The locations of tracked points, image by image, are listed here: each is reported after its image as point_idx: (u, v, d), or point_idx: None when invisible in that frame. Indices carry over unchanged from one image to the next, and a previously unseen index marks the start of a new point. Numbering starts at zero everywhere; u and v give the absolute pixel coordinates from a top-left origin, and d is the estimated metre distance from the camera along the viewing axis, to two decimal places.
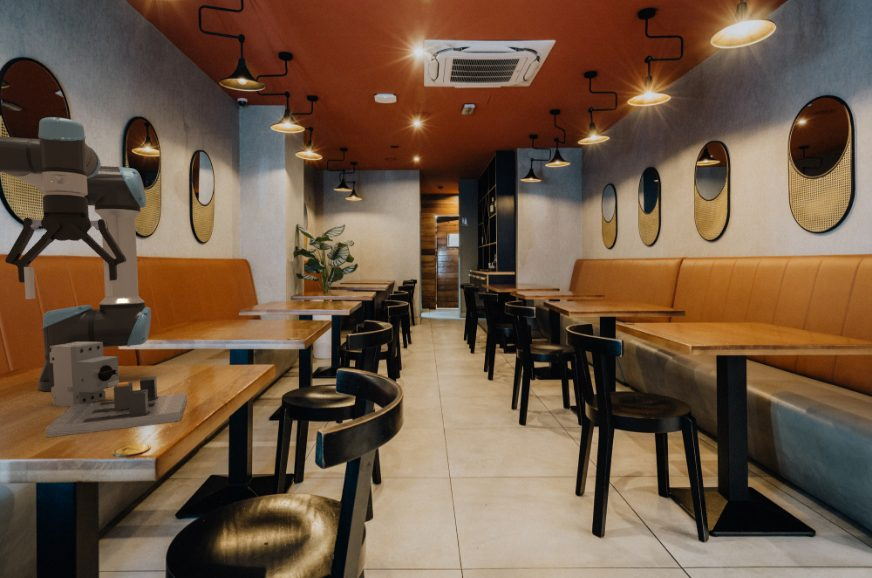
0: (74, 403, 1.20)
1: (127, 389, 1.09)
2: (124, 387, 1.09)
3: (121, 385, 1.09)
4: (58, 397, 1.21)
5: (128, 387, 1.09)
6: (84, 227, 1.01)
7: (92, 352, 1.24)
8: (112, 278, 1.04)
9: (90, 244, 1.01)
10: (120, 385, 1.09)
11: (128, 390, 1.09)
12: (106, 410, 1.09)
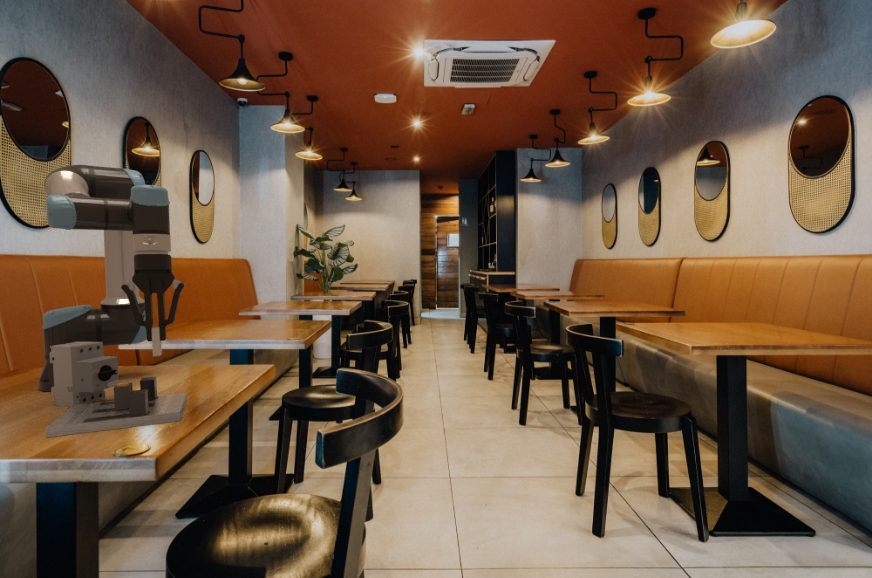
0: (74, 403, 1.20)
1: (127, 389, 1.09)
2: (124, 387, 1.09)
3: (121, 385, 1.09)
4: (58, 397, 1.21)
5: (128, 387, 1.09)
6: (166, 281, 1.12)
7: (92, 352, 1.24)
8: (162, 338, 1.12)
9: (159, 301, 1.11)
10: (120, 385, 1.09)
11: (128, 390, 1.09)
12: (106, 410, 1.09)
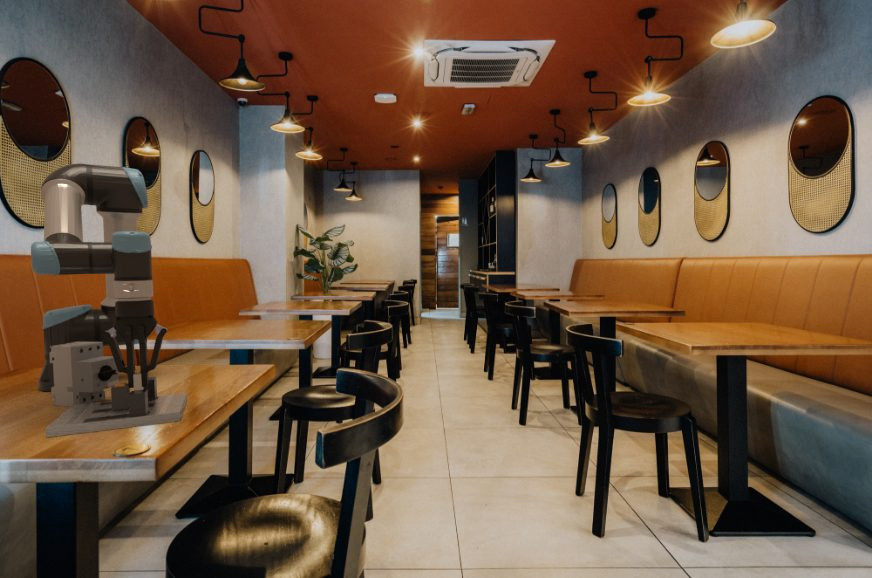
0: (74, 403, 1.20)
1: (124, 389, 1.09)
2: (121, 387, 1.08)
3: (118, 385, 1.09)
4: (58, 397, 1.21)
5: (125, 387, 1.09)
6: (148, 327, 1.11)
7: (92, 352, 1.23)
8: (144, 384, 1.11)
9: (141, 348, 1.10)
10: (117, 385, 1.09)
11: (125, 390, 1.09)
12: (106, 410, 1.09)
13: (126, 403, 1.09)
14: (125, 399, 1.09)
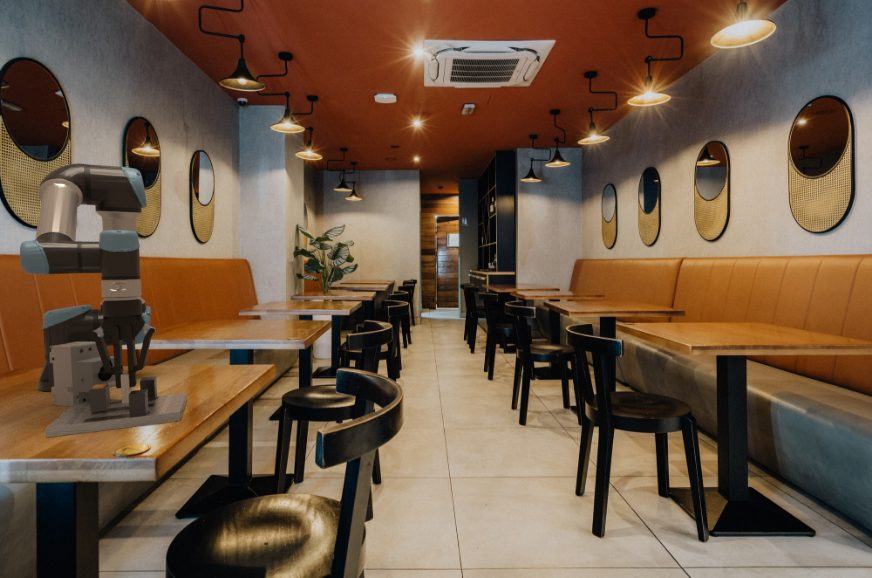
0: (74, 403, 1.20)
1: (103, 391, 1.07)
2: (100, 389, 1.07)
3: (97, 387, 1.07)
4: (58, 397, 1.21)
5: (104, 389, 1.07)
6: (136, 327, 1.10)
7: (92, 352, 1.24)
8: (132, 385, 1.10)
9: (128, 348, 1.09)
10: (96, 387, 1.07)
11: (104, 392, 1.07)
12: None
13: (105, 405, 1.07)
14: (104, 401, 1.07)
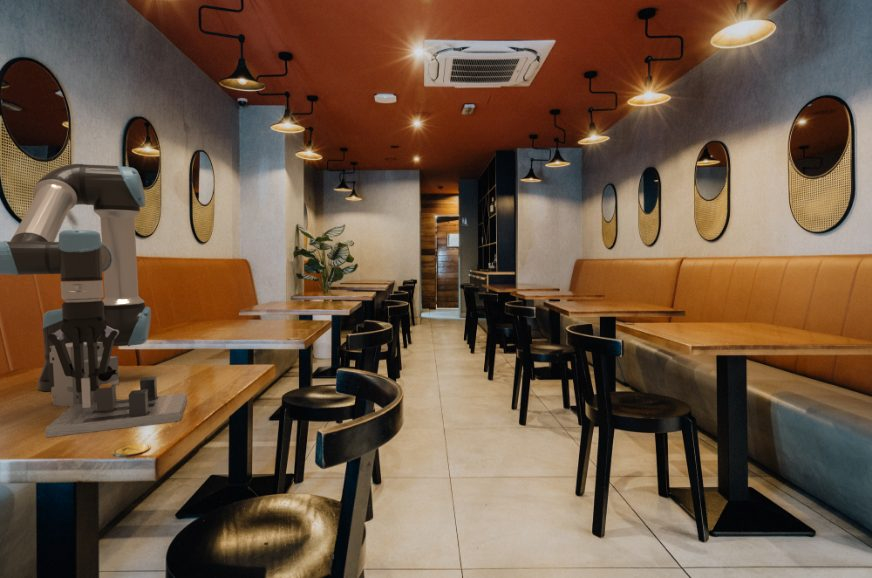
0: (74, 403, 1.20)
1: (110, 391, 1.08)
2: (107, 389, 1.07)
3: (104, 387, 1.08)
4: (58, 397, 1.21)
5: (111, 389, 1.08)
6: (97, 329, 1.07)
7: None
8: (93, 389, 1.07)
9: (89, 351, 1.06)
10: (103, 387, 1.08)
11: (111, 392, 1.08)
12: None
13: (111, 405, 1.08)
14: (110, 401, 1.08)
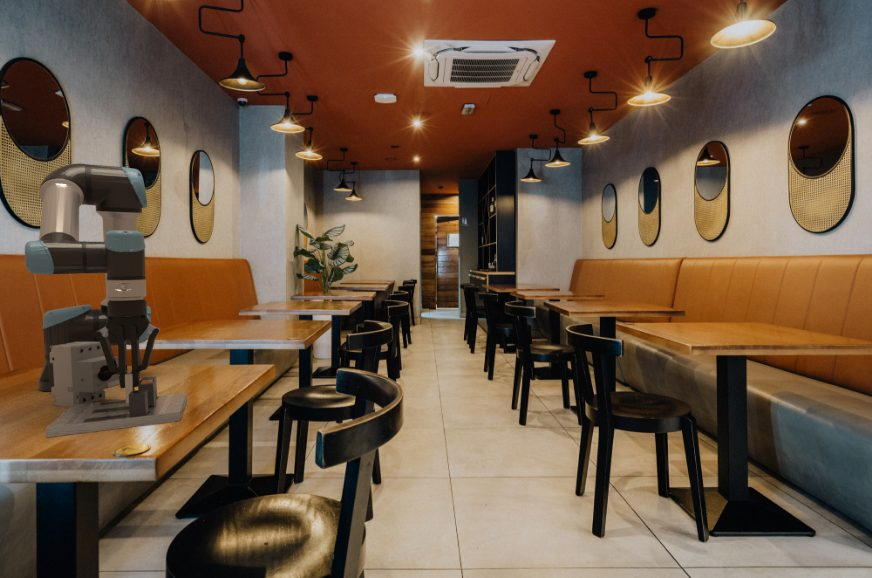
0: (74, 403, 1.20)
1: (151, 387, 1.11)
2: (148, 385, 1.11)
3: (145, 383, 1.11)
4: (58, 397, 1.21)
5: (152, 385, 1.11)
6: (140, 327, 1.10)
7: (92, 352, 1.24)
8: (135, 385, 1.10)
9: (133, 348, 1.10)
10: (144, 383, 1.11)
11: (152, 388, 1.11)
12: (106, 410, 1.09)
13: (153, 400, 1.11)
14: (152, 396, 1.11)
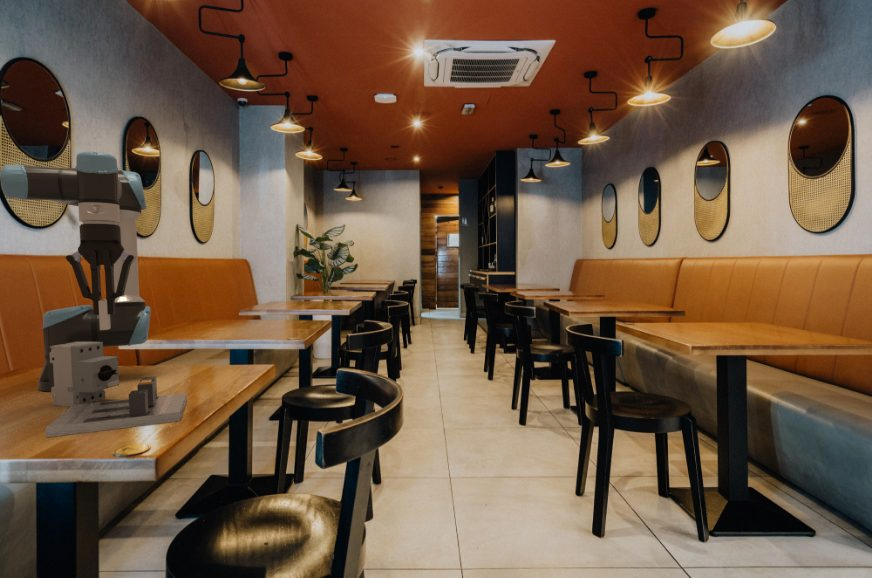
0: (74, 403, 1.20)
1: (150, 387, 1.11)
2: (147, 385, 1.10)
3: (144, 383, 1.11)
4: (58, 397, 1.21)
5: (151, 385, 1.11)
6: (114, 253, 1.08)
7: (92, 352, 1.24)
8: (110, 312, 1.08)
9: (107, 273, 1.07)
10: (143, 383, 1.11)
11: (151, 388, 1.11)
12: (106, 410, 1.09)
13: (152, 400, 1.11)
14: (151, 396, 1.11)
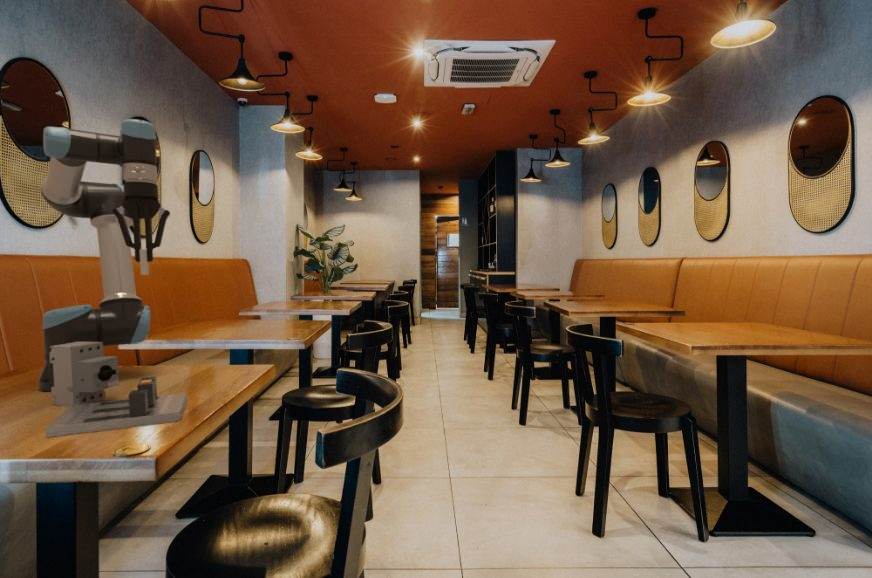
0: (74, 403, 1.20)
1: (150, 387, 1.11)
2: (147, 385, 1.10)
3: (144, 383, 1.11)
4: (58, 397, 1.21)
5: (151, 385, 1.11)
6: (153, 208, 1.24)
7: (92, 352, 1.24)
8: (149, 260, 1.25)
9: (146, 226, 1.24)
10: (143, 383, 1.11)
11: (151, 388, 1.11)
12: (106, 410, 1.09)
13: (152, 400, 1.11)
14: (151, 396, 1.11)
